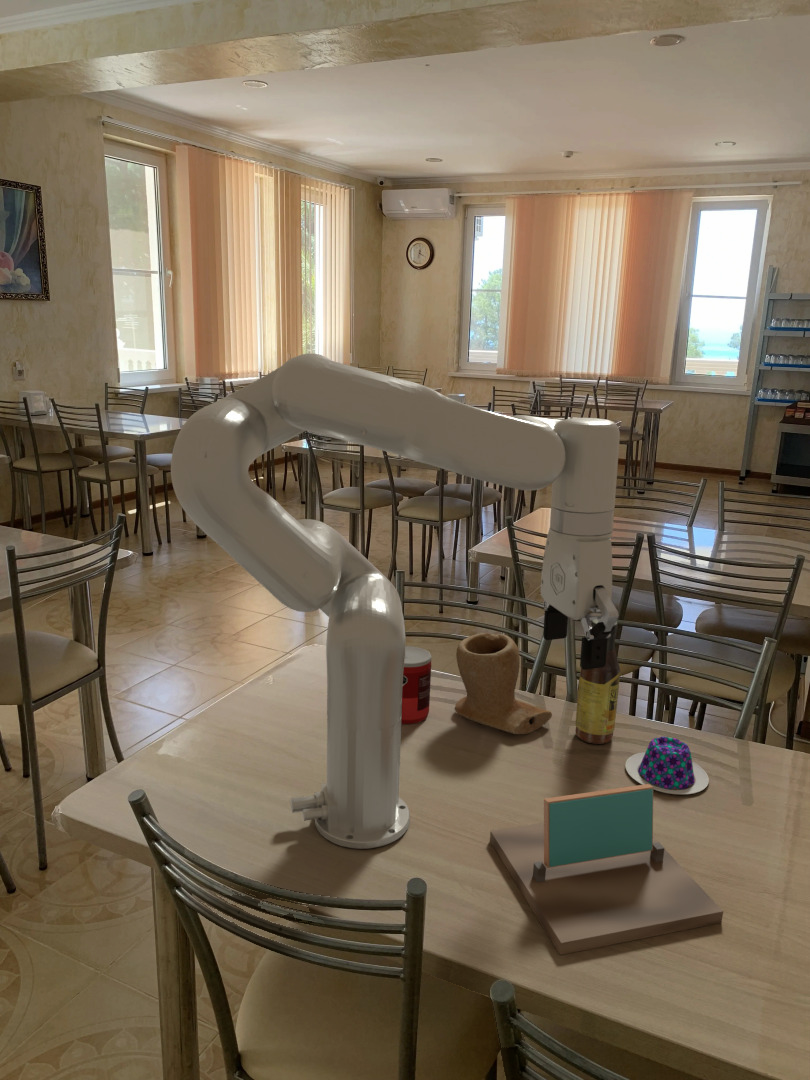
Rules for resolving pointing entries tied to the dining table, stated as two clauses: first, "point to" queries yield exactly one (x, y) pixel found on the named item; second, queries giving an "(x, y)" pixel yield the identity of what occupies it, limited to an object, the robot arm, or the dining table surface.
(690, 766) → the patterned brimmed hat
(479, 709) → the clay platform pipe
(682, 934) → the dining table surface
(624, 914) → the board
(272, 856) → the dining table surface
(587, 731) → the sauce bottle
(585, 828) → the tile
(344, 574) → the robot arm
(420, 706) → the canned food
